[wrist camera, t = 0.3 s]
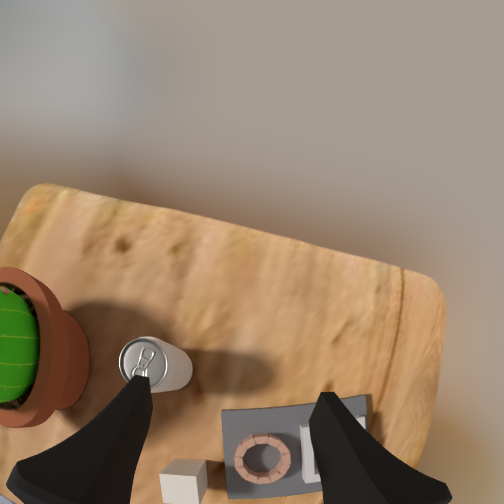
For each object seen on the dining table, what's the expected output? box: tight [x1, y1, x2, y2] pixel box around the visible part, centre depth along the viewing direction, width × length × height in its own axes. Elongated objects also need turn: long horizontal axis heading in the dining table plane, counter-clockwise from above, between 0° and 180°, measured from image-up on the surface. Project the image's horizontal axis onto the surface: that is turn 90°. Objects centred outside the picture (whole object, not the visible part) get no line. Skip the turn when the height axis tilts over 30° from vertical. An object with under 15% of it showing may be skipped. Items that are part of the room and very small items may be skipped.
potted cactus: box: [0, 267, 90, 428], centre depth 26 cm, size 22×22×25 cm
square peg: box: [159, 458, 208, 504], centre depth 28 cm, size 4×4×8 cm
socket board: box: [221, 395, 368, 499], centre depth 32 cm, size 14×20×4 cm
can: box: [119, 337, 193, 393], centre depth 33 cm, size 6×6×12 cm
